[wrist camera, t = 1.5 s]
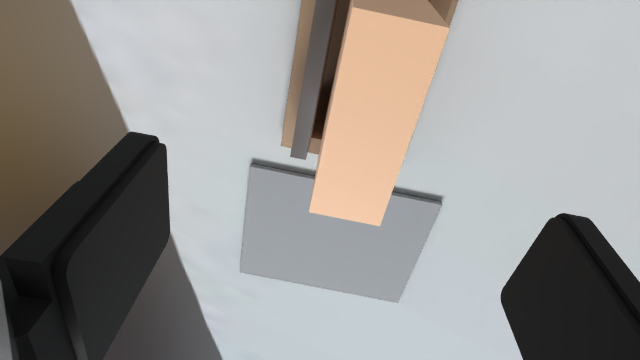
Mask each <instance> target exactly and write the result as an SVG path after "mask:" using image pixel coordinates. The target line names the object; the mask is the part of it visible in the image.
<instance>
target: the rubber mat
mask: <svg viewBox="0 0 640 360" xmlns="http://www.w3.org/2000/svg"><path fill="white" fill-rule="evenodd" d="M314 180H315V176H311V175H306V174H301V173H296V172H291V171H286V170H281V169H276V168H271V167H266V166H261V165H256V164H251V166H250V172H249V183H248V193H247V203H246V213H245V224H244V234H243V244H242V254H241V264H240V272H241V273H246V274H251V275H256V276H261V277H266V278H272V279H277V280H282V281H287V282H292V283H297V284H303V285H308V286H313V287H318V288H323V289H329V290H334V291H339V292H344V293H349V294H354V295H360V296H365V297H370V298H375V299H380V300H386V301H391V302H396V303H398V302H399V300H400V297H401V295H402V293H403V291H404V288H405V286H406V284H407V282H408V280H409V277H410V275H411V273H412V271H413V269H414V266H415V264H416V262H417V260H418V258H419V255H420V253H421V251H422V249H423V247H424V244H425V242H426V240H427V238H428V236H429V233H430V231H431V229H432V227H433V225H434V222H435V220H436V218H437V216H438V214H439V211H440V209H441V207H442V202H440V201H435V200H430V199H425V198H420V197H415V196H410V195H405V194H400V193H395V192H392V194H391V197H390V199H389V202H388V205H387V208H386V211H385V213H384V216H383V219H382V222H381V225H380V226H376V225H371V224H366V223H361V222H356V221H350V220H345V219H340V218H335V217H330V216H325V215H320V214H315V213H310V212H309V208H310V202H311V197H312V191H313V185H314Z"/></svg>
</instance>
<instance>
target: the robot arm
mask: <svg viewBox="0 0 640 360" xmlns="http://www.w3.org/2000/svg"><path fill="white" fill-rule="evenodd" d="M169 234H170V218H169V195H168V173H167V150H166V146H165V144H162V143H159V139H158V137H156V136H153V135H147V134H142V133H137V132H129V133H128V134H127V135H126V136H125V137H124V138H123V139H122V140H121V141H120V142H119V143H118V144H117V145H115V146H114V148H113V149H111V150H110V152H108V153H107V154H106V155H105V156H104V157H103V158H102V159H101V160H100V162H98V163H97V164H96V165H95V166H94V167H93V168H92V169H91V170H90V171H89V172H88V173H87V174H86V175H85V176H84V177H83V178H82V179H81V180H80V181H78V182H76V183H75V184H74V185H72V186H71V187H70V188H69V189H68V190H67V191H66V192H65V193H64V194H63V195H62V196H61V197H60V198H59V199H58V200H57V201H56V202H55V203H54V204H53V205H52V206H51V207H50V208H49V209H48V210H47V211H46V212H45V213H44V214H43V215H42V216H41V217H40V218H39V219H38V220H37V221H36V222H35V223H34V224H33V225H31V226H30V227H29V228H28V230H26V231H25V233H23V234H22V235H21V236H20V237H19V238H18V239H17V240H16V241H15V242H14V243H13V244H12V245H11V246H10V247H9V248H8V249H7V250H6V251H5V252H4V253H3V254H2V255H1V256H0V360H102V359H103V358H104V356H105V354H106V352H107V351H108V349H109V347H110V345H111V343H112V342H113V340H114V338H115V336H116V334H117V333H118V331H119V329H120V327H121V325H122V323H123V321H124V320H125V318H126V316H127V314H128V313H129V311H130V309H131V307H132V305H133V304H134V302H135V300H136V298H137V296H138V295H139V293H140V291H141V289H142V287H143V285H144V284H145V282H146V280H147V278H148V276H149V275H150V273H151V271H152V269H153V268H154V266H155V264H156V262H157V260H158V259H159V257H160V255H161V253H162V251H163V250H164V248H165V246H166V244H167V242H168V238H169ZM501 303H502V306H503V309H504V311H505V314H506V316H507V319H508V321H509V324H510V327H511V329H512V332H513V334H514V337H515V340H516V342H517V345H518V347H519V350H520V353H521V355H522V358H523V360H640V282H639V281H638V280H637V278H636V277H635V276H634V275H633V273H632V272H631V271H630V269H629V268H628V267H627V266H626V264H625V263H624V262H623V260H622V259H621V258H620V257H619V255H618V254H617V253H616V251H615V250H614V249H613V248H612V246H611V245H610V244H609V243H608V241H607V240H606V239H605V237H604V236H603V235H602V234H601V232H600V231H599V230H598V228H597V227H596V226H595V225H594V223H593V222H592V221H591V220H590V219H589V218H586V217H581V216H576V215H571V214H566V213H562V214H559V215H557V216H556V217H555V218H551V219H549V221H548V222H547V223H546V225H545V226H544V228H543V229H542V231H541V232H540V234H539V235H538V237H537V238H536V240H535V241H534V243H533V244H532V246H531V247H530V249H529V250H528V252H527V253H526V255H525V256H524V258H523V259H522V261H521V262H520V264H519V265H518V267H517V268H516V270H515V271H514V273H513V274H512V276H511V277H510V279H509V280H508V282H507V283H506V285H505V286H504V288H503V289H502V292H501Z"/></svg>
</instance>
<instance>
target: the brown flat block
mask: <svg viewBox="0 0 640 360" xmlns="http://www.w3.org/2000/svg"><path fill="white" fill-rule="evenodd" d="M428 1H429V2H430V3H431V5H432V6H433V7H434V8H435V10H436V11H437V12H438V13H439V15H440V16H441V17H442V18H443V20H444V21H445V22H446V24H447V25H448V26H450V23H451V20H452V17H453V14H454V12H455V9H456V6H457V3H458V0H428ZM349 2H350V0H302V3H301V10H300V17H299V24H298V31H297V38H296V45H295V52H294V59H293V65H292V72H291V79H290V86H289V93H288V100H287V107H286V114H285V121H284V128H283V134H282V141H281V146H284V147H289V148H292V149H291V155H290V157H294V158H299V159H304V160H306V156H307V152H309V153H314V154H319V152H320V146H321V140H322V135H323V129H324V123H325V118H326V112H327V107H328V103H329V98H330V93H331V88H332V83H333V79H334V74H335V69H336V64H337V59H338V55H339V50H340V45H341V40H342V35H343V31H344V26H345V21H346V16H347V11H348V7H349Z"/></svg>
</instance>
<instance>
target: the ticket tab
mask: <svg viewBox="0 0 640 360" xmlns="http://www.w3.org/2000/svg"><path fill="white" fill-rule="evenodd" d="M449 30H450V27H449V26H448V25H447V24H446V22H445V21H444V20H443V18H442V17H441V16H440V15H439V13H438V12H437V11H436V10H435V8H434V7H433V6H432V5H431V3H430V2H429V1H428V0H350V2H349V7H348V11H347V16H346V21H345V26H344V31H343V35H342V40H341V45H340V50H339V55H338V59H337V64H336V69H335V74H334V79H333V83H332V88H331V93H330V98H329V103H328V107H327V112H326V118H325V123H324V129H323V135H322V140H321V146H320V152H319V157H318V163H317V169H316V174H315V180H314V185H313V191H312V197H311V202H310V208H309V212H310V213H315V214H320V215H325V216H330V217H335V218H340V219H345V220H350V221H356V222H361V223H366V224H371V225H376V226H380V225H381V222H382V219H383V216H384V213H385V211H386V208H387V205H388V202H389V199H390V197H391V194H392V191H393V188H394V185H395V182H396V180H397V177H398V174H399V171H400V168H401V165H402V163H403V160H404V157H405V154H406V151H407V149H408V146H409V143H410V140H411V137H412V134H413V132H414V129H415V126H416V123H417V120H418V117H419V115H420V112H421V109H422V106H423V103H424V101H425V98H426V95H427V92H428V89H429V86H430V84H431V81H432V78H433V75H434V72H435V69H436V67H437V64H438V61H439V58H440V55H441V53H442V50H443V47H444V44H445V41H446V38H447V36H448V33H449Z"/></svg>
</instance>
